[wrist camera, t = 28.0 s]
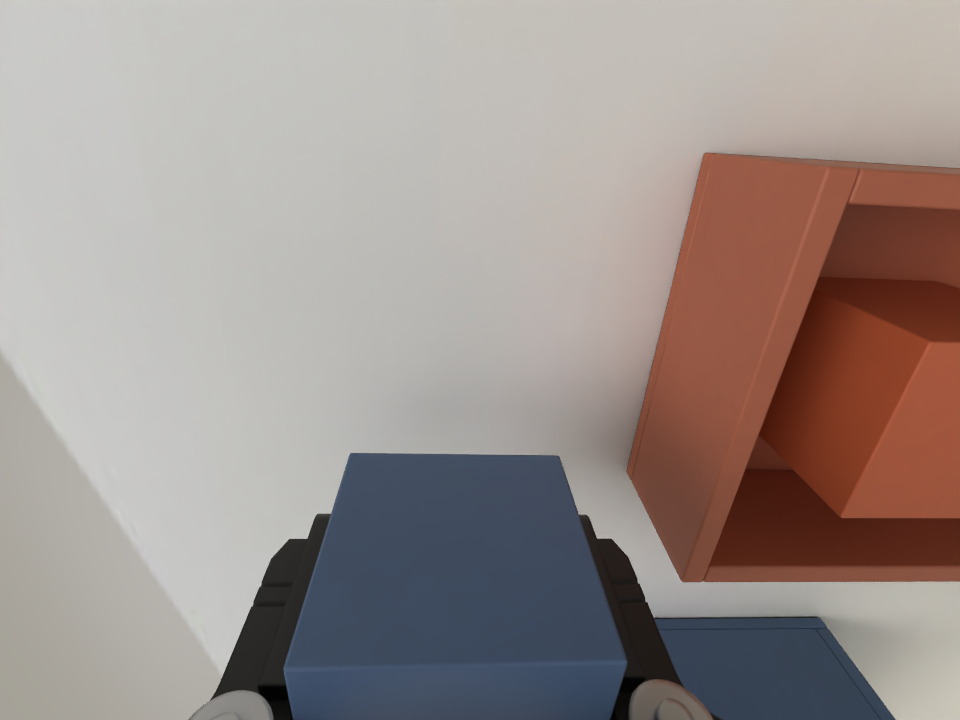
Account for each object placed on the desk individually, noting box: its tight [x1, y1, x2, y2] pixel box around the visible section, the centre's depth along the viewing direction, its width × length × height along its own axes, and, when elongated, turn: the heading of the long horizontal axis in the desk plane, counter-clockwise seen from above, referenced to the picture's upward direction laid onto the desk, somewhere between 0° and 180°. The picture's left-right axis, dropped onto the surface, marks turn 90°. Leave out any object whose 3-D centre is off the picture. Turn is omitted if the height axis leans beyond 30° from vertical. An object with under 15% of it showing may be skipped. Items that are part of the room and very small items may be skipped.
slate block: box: [283, 453, 628, 720], centre depth 9 cm, size 4×4×4 cm
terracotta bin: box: [627, 153, 960, 582], centre depth 13 cm, size 10×10×4 cm
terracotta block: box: [759, 277, 960, 518], centre depth 12 cm, size 4×4×4 cm
